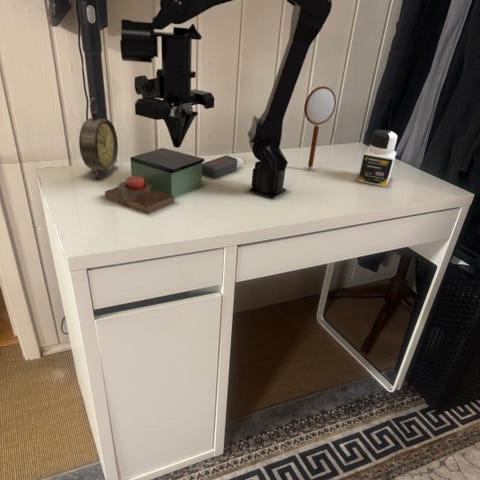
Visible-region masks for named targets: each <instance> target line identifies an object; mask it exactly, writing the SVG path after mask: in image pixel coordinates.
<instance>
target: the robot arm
mask: <svg viewBox="0 0 480 480" xmlns="http://www.w3.org/2000/svg"><path fill="white" fill-rule="evenodd" d="M233 1H234V0H160V1H159V7H160V9H159V11H158V12H157V14H156V15H154V16H153V17H152V21H140V20H133V19H130V18H122V19H121V21H120V23H121V25H120V26H121V27H120V28H121V29H120V31H121V32H120V41H119V44H120V45H119V46H120V56H121V60H122V62H134V63H135V62H136V63H148V64H153V59H155V58H159V38H160V47H161V68H157V69H156V72H155V75H156V76H155V77H154V78H148V77H147V75H145V74H143V75H138V76H136V77H134V91H135V93H136V94H137V95H138V96H140V95H141V98H138V99H137V100H136V101H135V102H134V114H135V115H136V116H139V117H144V118H147V119H151V120H155V121H161V120H163V121H164V123H165V125H166V128H167V131H168V133H169V137H170V140H171V142H172V146H173V147H174V148H180V147H181V145H182V143H183V141H184V139H185V137H186V135H187V133H188V131H189V129H190V127H191V125H192V124H193V122H194V120H195V118H196V116H198V114H199V113H198V112H197V111H195V110H194V108H193V106H197V105H201V106H203V108H204V109H206V110H208V109H212V108H213V109H214V108H215V97H214V94H212V92H209V91H205V90H200V89H196V88H195V89H192V79H195V78H196V77H197V76H196V75H197V72H196V71H193V70H192V50H193V49H192V43H193V42H192V40H196V41H197V40H198V41H201V40H202V39H203V37H202V34H201V33H200V32H199V31H198V29H197V28H196V26H195V23H191V24H190V26H189V27H179V26H177V27H176V26H173V29H172V31H173V32H167V31H166V32H164V31H163V30H164V29H166V28H167V27H169V26H170V25H171V24H173V25H182V24H184V23H186V22H188V21H190V20H192V19H194V18H195V17H197V16H199V15H201V14H202V13H204V12H206V11H208V10H209V9H212V8H213V7H216V6H219V5H224V4H225V3H229V2H233ZM285 1H286V2H287V3H289V4H290V5H291V6H292V12H291V18H290V28H289V29H290V30H289V38H288V42H287V44H286V47H285V51H284V53H283V55H282V59H281V62H280V64H279V67H278V71H277V74H276V76H275V79H274V83H273V86H272V88H271V92H270V95H269V98H268V100H267V104H266V106H265V109H264V111H263V113H262V114H261V115H260V117H257V116H255V115H253V117H252V120H251V127H250V129H249V131H248V132H247V136H248V144H249V147H250V150H251V152H252V154H253V156H254V158H255V159H257V162H255V163H254V168H252V175H251V187H250V188H249V189H248V191H249V192H250V193H253V194H257V195H260V196H263V197H266V198H270V199H275V198H277V197H278V196H280V195H282V194H284V193H285V192H287V189H286V188H284V184H285V177H286V169H287V166H288V163H289V162H288V160H287V159H286V157H285V154H284V153H283V152H282V150H281V149H280V146H281V142H282V137H283V125H284V118H285V115H286V114H287V113H286V112H287V110H288V108H289V104H290V101H291V98H292V96H293V93H294V91H295V88H296V85H297V82H298V79H299V77H300V74H301V71H302V68H303V65H304V63H305V61H306V57H307V55H308V52H309V50H310V47H311V45H312V44H313V42H314V41H315V39H316V38H317V36H318V35H319V33H320V32H321V31H322V28H323V27H324V25H325V23H326V21H327V20H328V18H329V16H330V13H331V12H332V7H333V1H332V0H285ZM157 30H158V31H157Z"/></svg>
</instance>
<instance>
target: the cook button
mask: <svg viewBox="0 0 480 480" xmlns="http://www.w3.org/2000/svg"><path fill="white" fill-rule="evenodd" d="M125 181H126V184H127V188H129V189H135V190H137V189H143V188H145V181H144V178H142V177H139V176H132V175H131V176H128V177H126V179H125Z"/></svg>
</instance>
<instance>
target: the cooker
mask: <svg viewBox="0 0 480 480" xmlns="http://www.w3.org/2000/svg"><path fill="white" fill-rule="evenodd" d="M202 163H203V162H202ZM202 163H199V164H197V165H194V166H191V167H188V168H186V169H183V170H180V171H177V172H174V173H173V172H169V171H166V170H162V169H159V168H155V167H152V166H148V165H145V164H141V163H138V162H134V161H131V160H130V175H131V176H139V177H142V178H144V181H146V182H149V183H150V184H151V185H152V189H154V190H157V191H160V192H163V193H166V194H169V195H172V196H174V198H175V197H177V196H180V195H182V194H184V193H187V192H189V191H192V190H194V189H196V188H197V189H198V188H199V187H202V185H203V184H202V183H203V180H202V179H203V175H202Z"/></svg>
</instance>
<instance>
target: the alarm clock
mask: <svg viewBox="0 0 480 480" xmlns="http://www.w3.org/2000/svg"><path fill="white" fill-rule="evenodd" d="M93 101H94V103H95V111H93V109H92V104H93ZM89 110H90V114H92V117H91V118H88V119H86V120H85V121H84V122H83V123H82V125H81V128H80V131H79V135H78V136H79V138H78V145H79V152H80V156H81V159H82V162H83V163H84V164H85V165H86V167H87V168H89V169H90V170H91V172H93V171H95V175H96V176H95V180H99V175H100V171H104V172H109V171H111V170H112V169H113V168H115V165H116V162H117V159H118V153H119V152H118V151H119V145H118V136H117V132H116V131H117V130H116V128H115V126H114V124H113V123H112V122H111V121H110V120H109V119H107V118H99V117H98V116H97V114H98V102H97V99H96V98H95V97H92V98H91V99H90V102H89Z"/></svg>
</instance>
